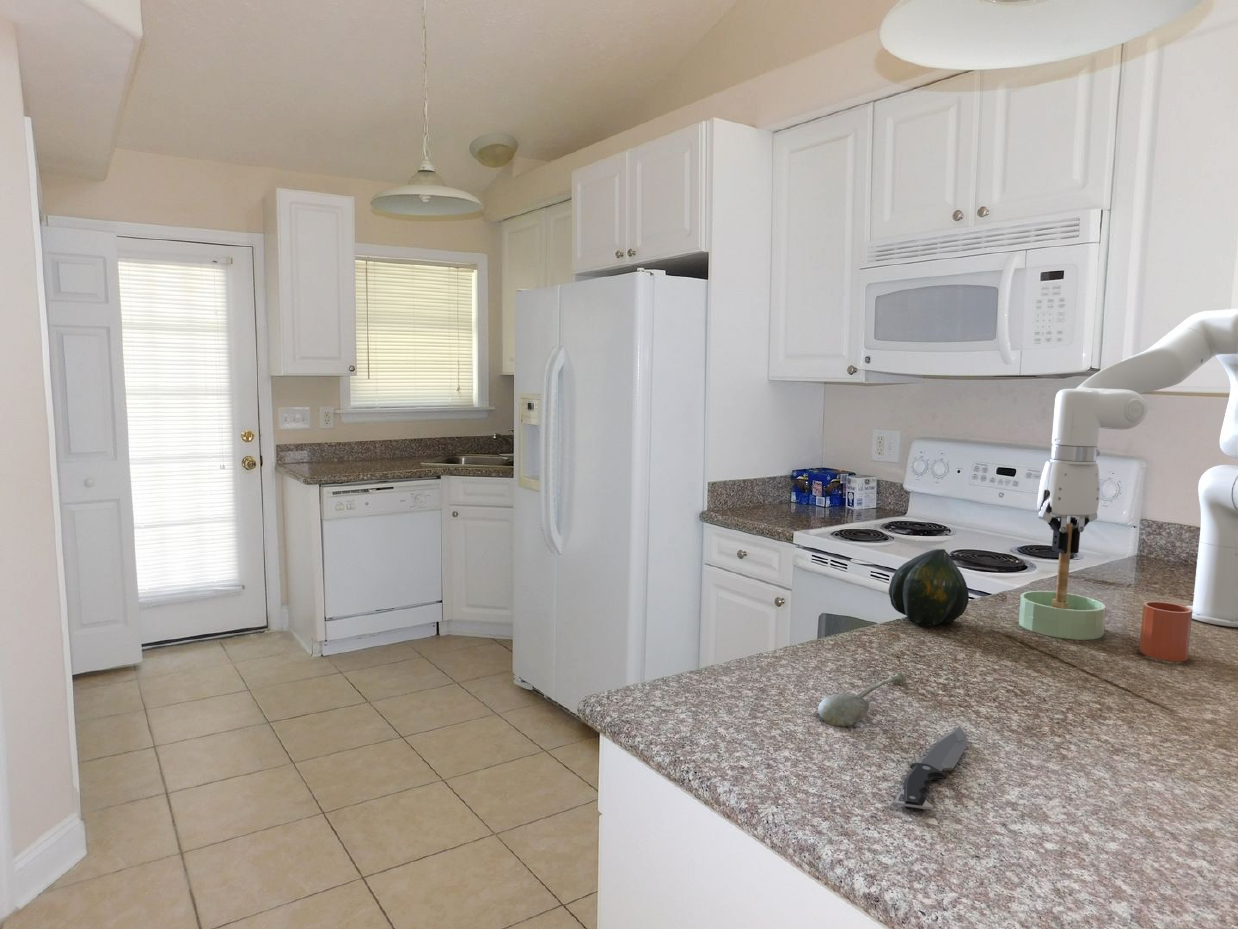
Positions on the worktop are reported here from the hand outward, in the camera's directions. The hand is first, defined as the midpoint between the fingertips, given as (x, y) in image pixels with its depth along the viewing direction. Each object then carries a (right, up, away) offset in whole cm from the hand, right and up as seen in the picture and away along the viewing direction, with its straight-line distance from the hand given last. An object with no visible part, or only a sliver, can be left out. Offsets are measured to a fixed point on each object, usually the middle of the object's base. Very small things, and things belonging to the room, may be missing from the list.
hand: (1064, 551), depth 153 cm
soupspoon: (-48, -18, -35) cm, 63 cm away
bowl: (0, -15, +2) cm, 16 cm away
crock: (+10, -17, -12) cm, 23 cm away
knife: (-46, -20, -55) cm, 75 cm away
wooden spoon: (0, -12, +1) cm, 13 cm away
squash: (-24, -15, +7) cm, 29 cm away
